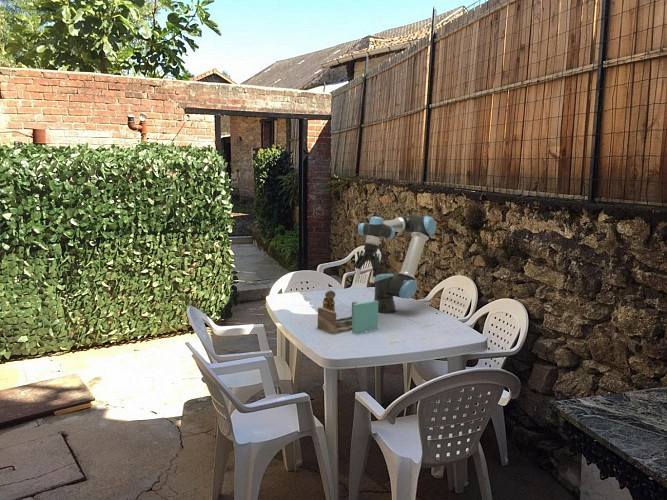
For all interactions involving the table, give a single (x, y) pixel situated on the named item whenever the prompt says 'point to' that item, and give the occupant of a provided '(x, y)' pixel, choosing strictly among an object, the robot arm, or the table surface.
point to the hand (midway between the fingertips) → (363, 281)
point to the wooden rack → (333, 321)
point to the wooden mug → (329, 301)
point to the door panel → (365, 316)
